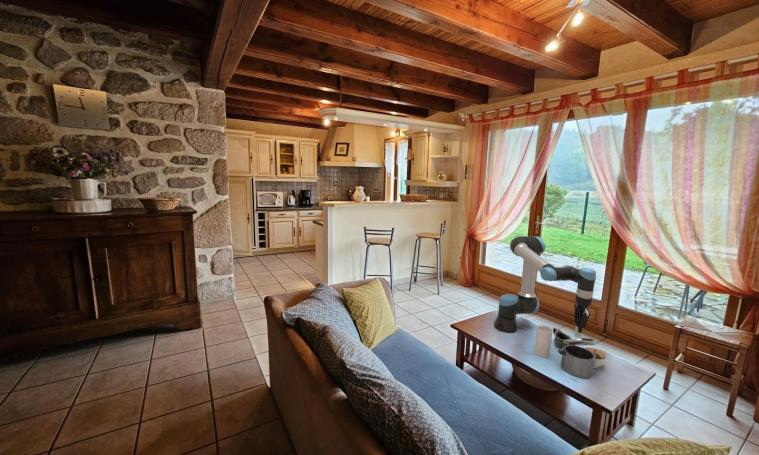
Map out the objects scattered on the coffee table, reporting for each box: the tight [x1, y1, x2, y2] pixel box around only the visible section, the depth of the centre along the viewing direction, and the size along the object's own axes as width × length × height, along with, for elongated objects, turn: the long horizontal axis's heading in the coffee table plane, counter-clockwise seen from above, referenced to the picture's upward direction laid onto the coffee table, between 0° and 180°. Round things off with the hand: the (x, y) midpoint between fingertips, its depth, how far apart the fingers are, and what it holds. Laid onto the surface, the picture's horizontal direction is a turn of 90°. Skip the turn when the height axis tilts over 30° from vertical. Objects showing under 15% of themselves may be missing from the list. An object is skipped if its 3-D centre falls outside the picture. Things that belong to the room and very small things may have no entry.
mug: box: [552, 326, 573, 349], centre depth 202 cm, size 10×12×10 cm
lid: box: [563, 337, 597, 347], centre depth 175 cm, size 17×15×2 cm
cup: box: [533, 324, 554, 358], centre depth 191 cm, size 8×8×16 cm
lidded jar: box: [585, 346, 607, 369], centre depth 182 cm, size 11×11×9 cm
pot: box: [557, 345, 601, 379], centre depth 177 cm, size 16×21×10 cm
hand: (577, 336), depth 178 cm, fingers closed
